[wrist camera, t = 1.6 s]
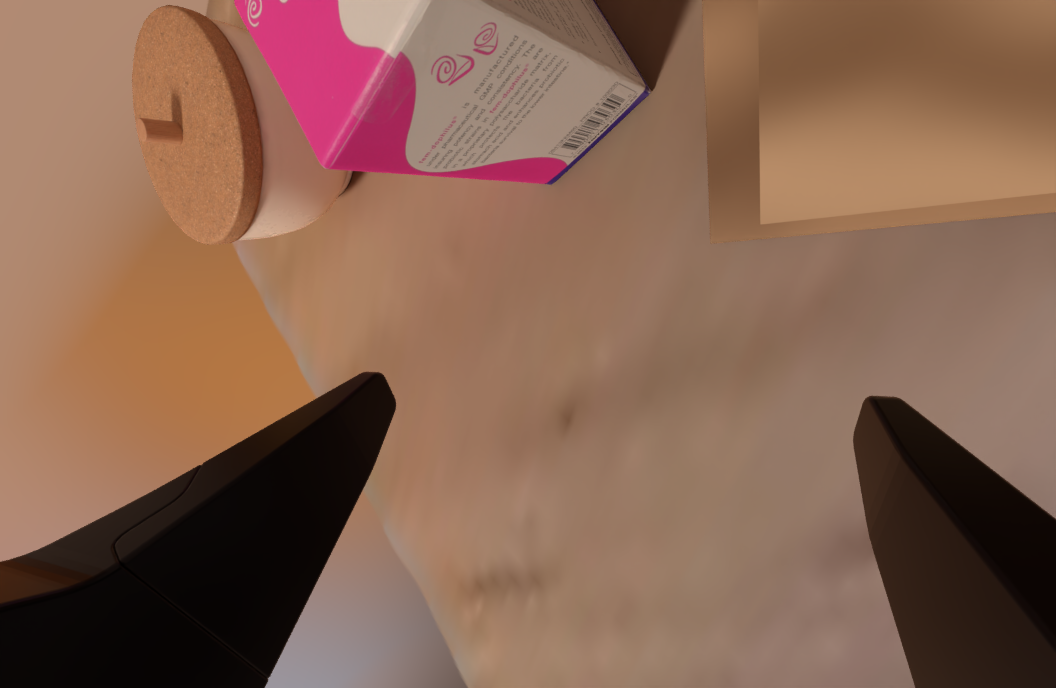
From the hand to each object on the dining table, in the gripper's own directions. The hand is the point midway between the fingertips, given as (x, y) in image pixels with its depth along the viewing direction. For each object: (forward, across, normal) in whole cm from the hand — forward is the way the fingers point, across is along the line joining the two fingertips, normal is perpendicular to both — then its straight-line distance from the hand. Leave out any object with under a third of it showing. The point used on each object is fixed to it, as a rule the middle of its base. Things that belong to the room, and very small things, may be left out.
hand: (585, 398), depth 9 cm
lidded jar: (+19, +20, -2) cm, 28 cm away
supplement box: (+16, +4, -3) cm, 16 cm away
